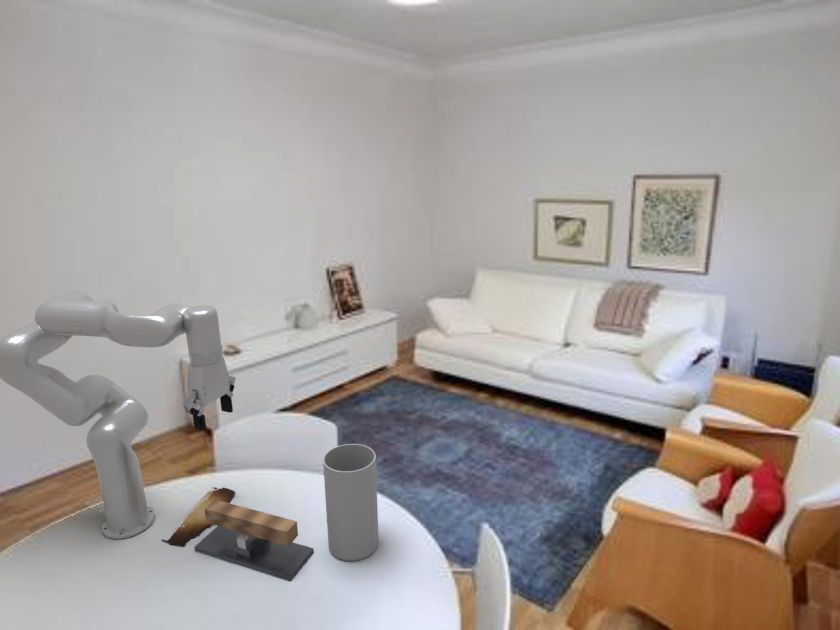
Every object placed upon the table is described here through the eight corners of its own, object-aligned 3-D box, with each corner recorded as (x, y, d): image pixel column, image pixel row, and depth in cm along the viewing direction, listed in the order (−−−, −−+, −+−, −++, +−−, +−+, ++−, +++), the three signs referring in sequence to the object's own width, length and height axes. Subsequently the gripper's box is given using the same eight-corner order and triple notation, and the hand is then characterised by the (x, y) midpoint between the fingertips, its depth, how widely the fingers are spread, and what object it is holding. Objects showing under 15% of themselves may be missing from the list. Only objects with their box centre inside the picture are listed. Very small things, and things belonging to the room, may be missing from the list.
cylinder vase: (347, 570, 128) (342, 478, 121) (319, 543, 137) (313, 456, 130) (388, 545, 136) (386, 458, 129) (359, 521, 145) (356, 438, 138)
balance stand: (194, 550, 135) (191, 528, 133) (222, 525, 144) (219, 504, 142) (290, 581, 125) (288, 557, 123) (313, 552, 134) (311, 529, 132)
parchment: (213, 487, 161) (212, 484, 160) (243, 490, 159) (242, 487, 158) (158, 545, 138) (157, 542, 137) (192, 549, 136) (192, 546, 135)
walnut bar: (206, 522, 135) (204, 508, 134) (217, 512, 138) (215, 499, 137) (288, 546, 126) (287, 531, 125) (298, 535, 130) (296, 521, 129)
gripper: (218, 343, 141) (225, 403, 146) (166, 367, 125) (176, 433, 130) (241, 346, 138) (248, 407, 143) (192, 371, 123) (201, 438, 128)
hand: (214, 419), depth 137 cm, fingers open, 9 cm apart
